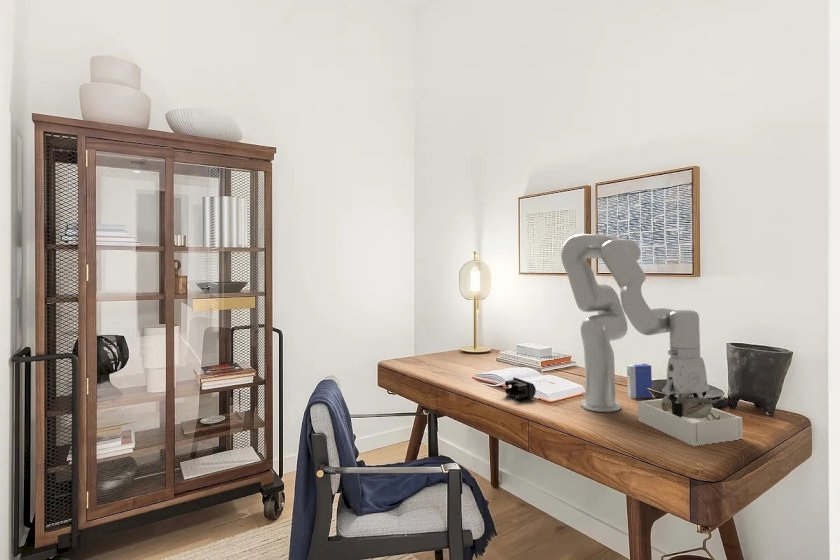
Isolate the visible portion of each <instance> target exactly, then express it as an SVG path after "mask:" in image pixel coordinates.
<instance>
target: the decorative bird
mask: <svg viewBox="0 0 840 560" xmlns="http://www.w3.org/2000/svg"><path fill="white" fill-rule="evenodd" d="M676 396H677V394H676V395H675V397H676ZM662 399H663V400H662V409H663V411H669V410H672V401H670V400H669V398H668V397H667V396H666V395H665V396H664V397H663V398H662ZM716 401H717V399H715V400H712V399H708V398H695V397H689V396H684V395H682V397H681V400H680V403H681V404H682V416H683V417H686V418H694V419H700V418H705V417H706V418H707V419H708V420H709V421H710V419H709V418H708V417H707V415H708V414H710V415H712V416H713V414H712V413H711V408H712V403H715V402H716ZM713 417H714V416H713ZM719 417H720V416H719ZM719 417H718V419H717V418H715V417H714V418H715V419H717V420H719ZM714 418H713V420H714Z"/></svg>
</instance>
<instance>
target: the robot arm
mask: <svg viewBox="0 0 840 560" xmlns="http://www.w3.org/2000/svg"><path fill="white" fill-rule="evenodd" d="M560 254H561V255H560V256H561V262H562V263H561V264H562V266H563V268H564V270H565V272H566V275H567V277H568V281H569V285H570V288H571V291H572V293H573V297H574V301H575V303H576V305H577V308H578V309H579V310H580V311H581V312H583V313H595V312H596V313H597V314H594V315H590V316H588V317H586V318H585V319H584V320H583V321H582V323H581V326H580V335H581V340H582V346H583V352H584V353H583V357H584V358H583V359H584V380H585V381H584V384H585V388H584V389H585V390H583V391H582V393H581V394H582V395H583V396H584V399H583V400H581V402H580V406H581V407H582V408H583V409H586V410H587V411H592V412H599V413H600V412H601V413H613V412H618V411H619V410H620V409H621V404H620V403H619V401H616V375H615V372H616V371H615V354H614V350H613V347H612V345H611V342H613V341H618V340H621V339H622V338H624V337H625V336H626V334H627V332H628V321H627V320H629V322H630V324H631V325H632V326H633V328H634V329H635V330H636V331H637V332H639V333H640V334H642V335H644V336H653V335H659V334H666V333H669V350H668V351H667V353H668V355H669V356H670V357H669V358H668V361H667V368H666V384H665V386H664V387H662V389H661V393H663V394H664V395H665V396H667V397H668V398H669V400H670V401H672V414H673V415H676V416H678V417H682V404H681V403H680V400H681V397H682V396H684V395H687V394H692V396H693V397H695V398H703V397H704V396H705V395H706V394H707V393H708V392H709V390H710V389H711V386H710V384H709V383H708V380H707V379H708V378H707V370H706V365H705V361H704V358H703V357H701V339H700V338H701V337H700V336H701V335H700V330H701V329H700V315H699V312H697V311H695V310H688V309H679V310H678V309H676V310H675V309H671V308H667V307H666V308H661V307H660V308H659V307H658V308H652V309H651V308H650V306H649V305H648V304H647V302H646V301H645V299H644V297H643V294H642V286H643V284H644V282H645V281H646V279H647V274H646V273H645V272H644V270H643V269H642V267H641V266H640V264H639V263H638V260H639V259H640V257H641V249H640V246H639V245H638V244H637V243H636V242H635V241H634V240H631V239H628V238H627V239H626V238H621V237H616V236H610V235H606V234H594V233H593V234H592V233H591V234H590V233H580V234H574V235H572V236H570V237H568V239H567V240H565V242H564V244H563V245H562V249H561V253H560ZM586 259H601V260H602V261H603V263H604V265H605V267H606V268H607V269H608V271H609V272H610V274H611V276H612V277H613V279H614V281H615V283H616V284H617V286H618V287H619V288H620V298H619V295H618V293H617V292H616V290H615V289H614V288H613V287H612V286H610V285H608V284H605V283H604V284H603V283H600V284H599V283H598V282H597V279H596V276H595V273H594V270H593V269H592V267H591V266H590V264H588V263H587V261H586ZM626 317H627V318H628V319H627V318H626ZM675 395H677V396H676V397H675Z"/></svg>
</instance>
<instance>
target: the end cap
mask: <svg viewBox="0 0 840 560" xmlns="http://www.w3.org/2000/svg"><path fill="white" fill-rule="evenodd" d="M504 386H511V387H508V388H505V389H504V390H505V397H506V396H508V397H510V398H512V399H511V400H513V399H514V400H513V401H515V400H516V402H517V401H518V403H523V402H524V401H525V402H528V401H531V400H532V399H533V398H534V397H535V395H536V392H537V391H536V385H534V384H533V383H532V382H530V381H526V380H523V379H521V378H518V377H513V378H512V379H510V380H505V381H504ZM508 397H507V398H508ZM510 398H509V399H510Z"/></svg>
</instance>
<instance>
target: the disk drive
mask: <svg viewBox="0 0 840 560" xmlns="http://www.w3.org/2000/svg"><path fill="white" fill-rule="evenodd" d="M686 395H690V394H686ZM727 405H729V398H728V397H726V396H721V398H720V399H718V400H717V401H716V402H715V403H713V404H712V408H715V409H719V408H720V407H723V406H727Z"/></svg>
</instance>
